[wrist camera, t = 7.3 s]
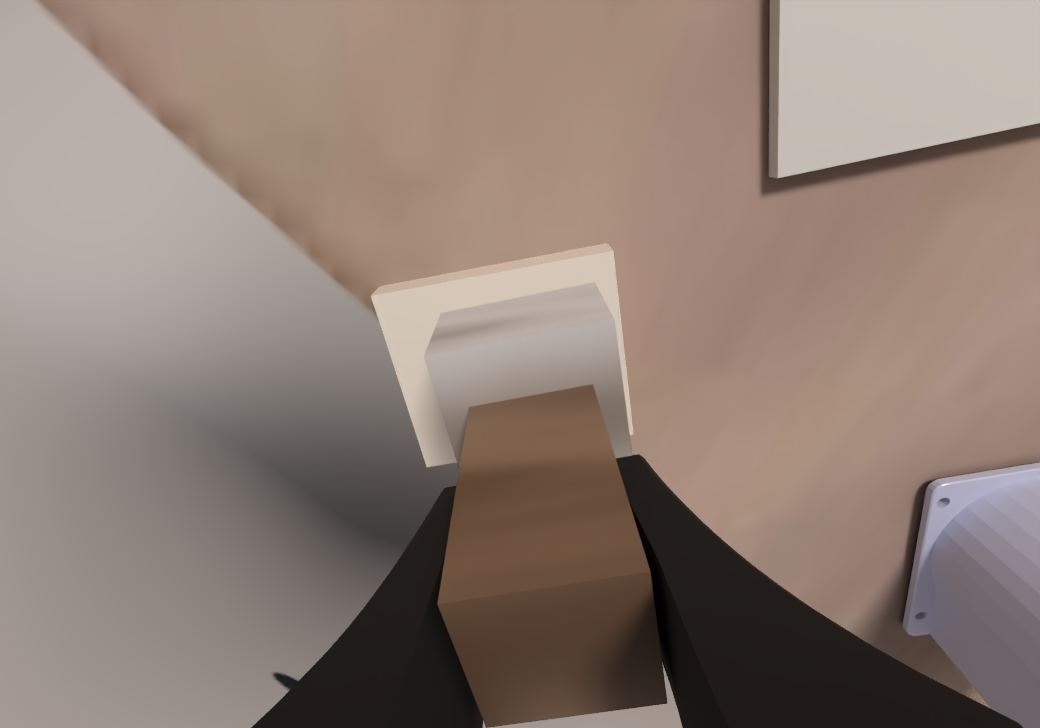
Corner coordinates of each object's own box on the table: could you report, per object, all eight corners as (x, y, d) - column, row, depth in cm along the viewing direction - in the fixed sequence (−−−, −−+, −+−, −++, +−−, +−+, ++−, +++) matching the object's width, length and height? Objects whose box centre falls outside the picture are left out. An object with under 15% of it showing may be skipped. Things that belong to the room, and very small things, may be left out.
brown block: (620, 457, 16) (714, 750, 9) (489, 479, 17) (467, 781, 9) (594, 282, 14) (696, 475, 6) (440, 313, 14) (353, 533, 6)
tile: (633, 434, 19) (426, 467, 19) (625, 413, 20) (433, 443, 21) (613, 250, 16) (371, 296, 16) (605, 240, 17) (382, 282, 18)
